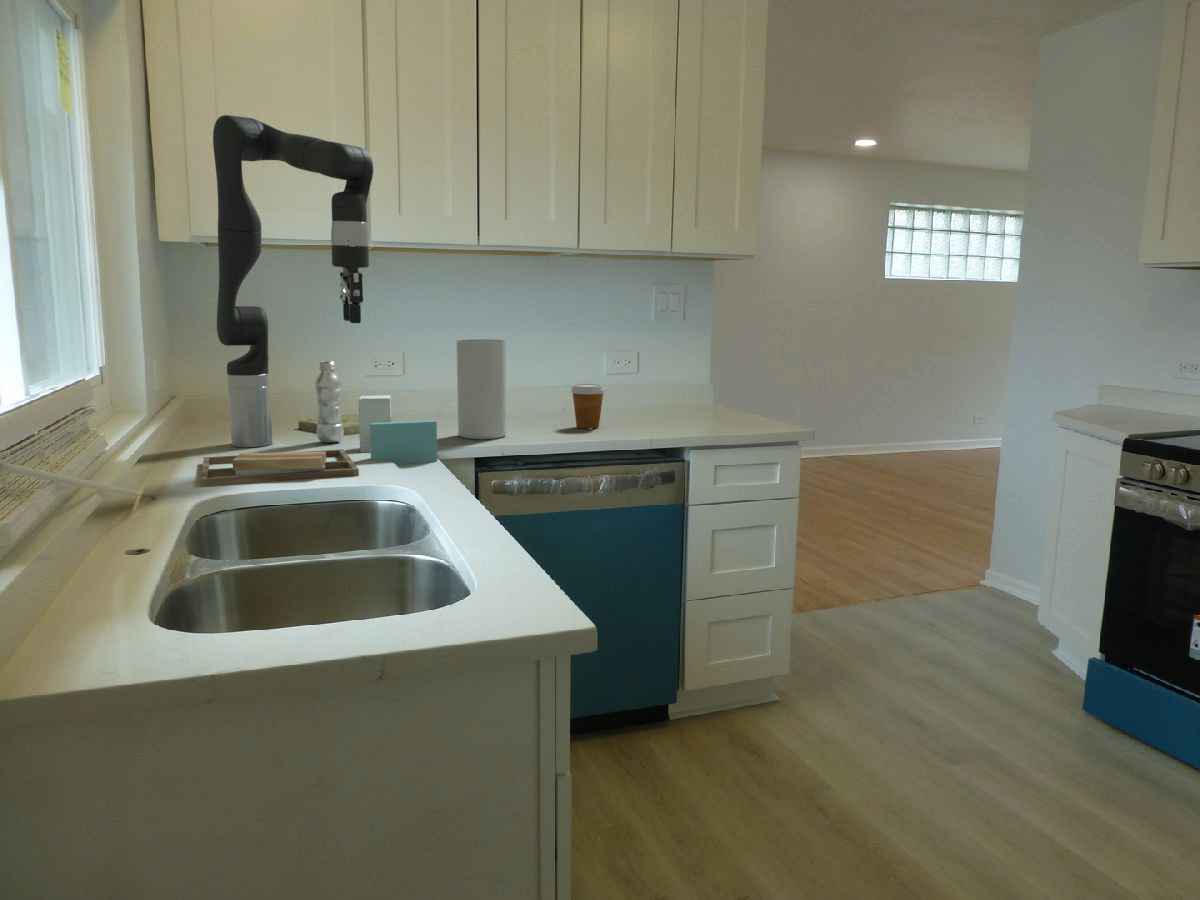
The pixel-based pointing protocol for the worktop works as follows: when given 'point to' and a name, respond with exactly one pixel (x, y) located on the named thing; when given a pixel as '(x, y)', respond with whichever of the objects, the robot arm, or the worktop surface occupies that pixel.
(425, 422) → the teal block
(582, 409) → the disposable coffee cup
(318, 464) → the oak offcut top
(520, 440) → the worktop surface
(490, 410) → the cylinder vase
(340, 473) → the tray
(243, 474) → the grey flat panel
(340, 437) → the plastic bottle
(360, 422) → the supplement box
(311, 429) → the decorative tile
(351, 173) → the robot arm
